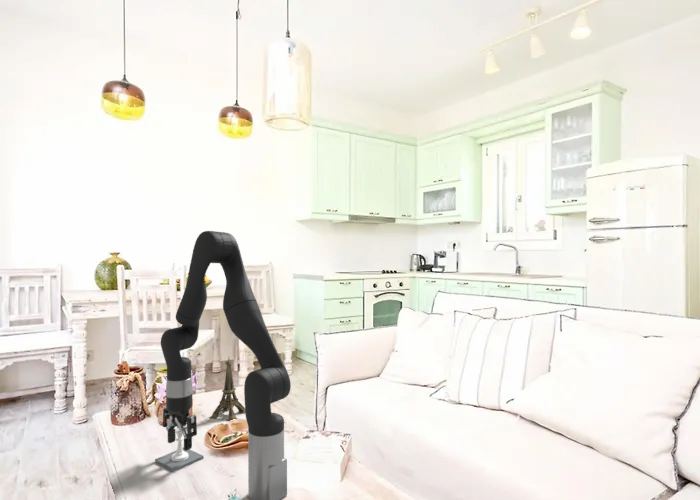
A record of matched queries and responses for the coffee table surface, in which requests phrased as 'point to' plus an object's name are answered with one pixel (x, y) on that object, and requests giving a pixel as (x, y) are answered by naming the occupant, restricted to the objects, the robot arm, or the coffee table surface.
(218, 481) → the coffee table surface
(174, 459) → the chess piece
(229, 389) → the eiffel tower
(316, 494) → the coffee table surface
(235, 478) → the coffee table surface
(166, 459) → the slate tile
